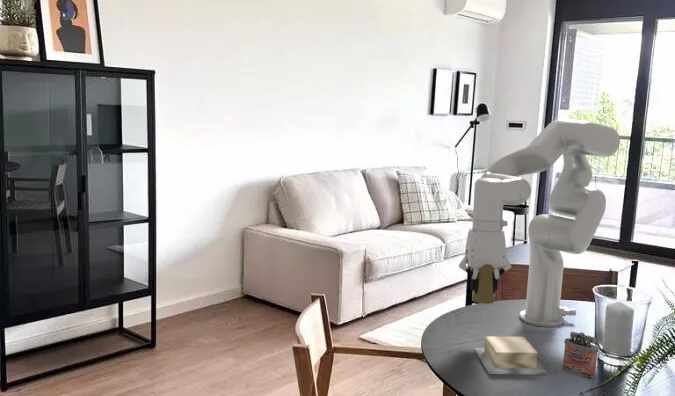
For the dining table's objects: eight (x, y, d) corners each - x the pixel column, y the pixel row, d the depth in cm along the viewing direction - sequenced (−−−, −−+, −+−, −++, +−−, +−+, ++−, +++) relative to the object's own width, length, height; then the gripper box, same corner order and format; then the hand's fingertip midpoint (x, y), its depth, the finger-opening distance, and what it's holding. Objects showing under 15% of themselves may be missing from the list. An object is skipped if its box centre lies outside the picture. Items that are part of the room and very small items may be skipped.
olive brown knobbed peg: (495, 304, 166) (497, 264, 164) (471, 302, 167) (473, 262, 165) (494, 296, 171) (496, 257, 169) (471, 295, 173) (473, 256, 171)
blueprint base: (527, 350, 164) (528, 334, 163) (547, 374, 150) (548, 356, 150) (474, 350, 164) (475, 333, 163) (489, 374, 150) (490, 355, 149)
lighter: (559, 369, 153) (562, 330, 152) (565, 365, 156) (569, 327, 154) (591, 381, 148) (596, 340, 146) (598, 376, 150) (602, 337, 148)
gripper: (514, 222, 169) (510, 287, 173) (452, 222, 169) (449, 287, 172) (523, 228, 162) (519, 296, 165) (458, 228, 161) (455, 296, 165)
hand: (483, 291), depth 169 cm, fingers closed on olive brown knobbed peg, 4 cm apart
